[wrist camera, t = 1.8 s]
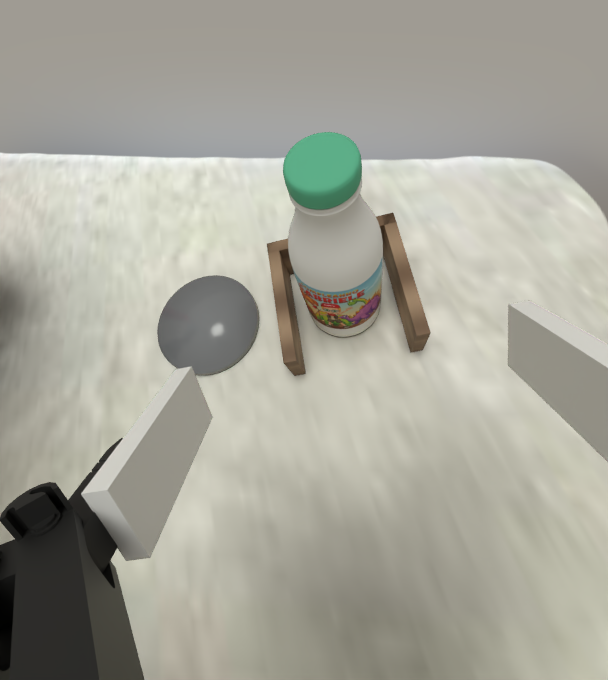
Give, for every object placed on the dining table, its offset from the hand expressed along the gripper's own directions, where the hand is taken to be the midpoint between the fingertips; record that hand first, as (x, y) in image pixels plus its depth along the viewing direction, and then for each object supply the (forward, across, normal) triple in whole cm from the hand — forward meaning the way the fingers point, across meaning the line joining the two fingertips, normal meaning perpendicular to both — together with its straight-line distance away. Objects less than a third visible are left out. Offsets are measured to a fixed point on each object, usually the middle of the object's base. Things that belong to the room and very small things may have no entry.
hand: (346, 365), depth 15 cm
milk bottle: (+24, +1, -6) cm, 25 cm away
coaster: (+24, -15, -5) cm, 29 cm away
